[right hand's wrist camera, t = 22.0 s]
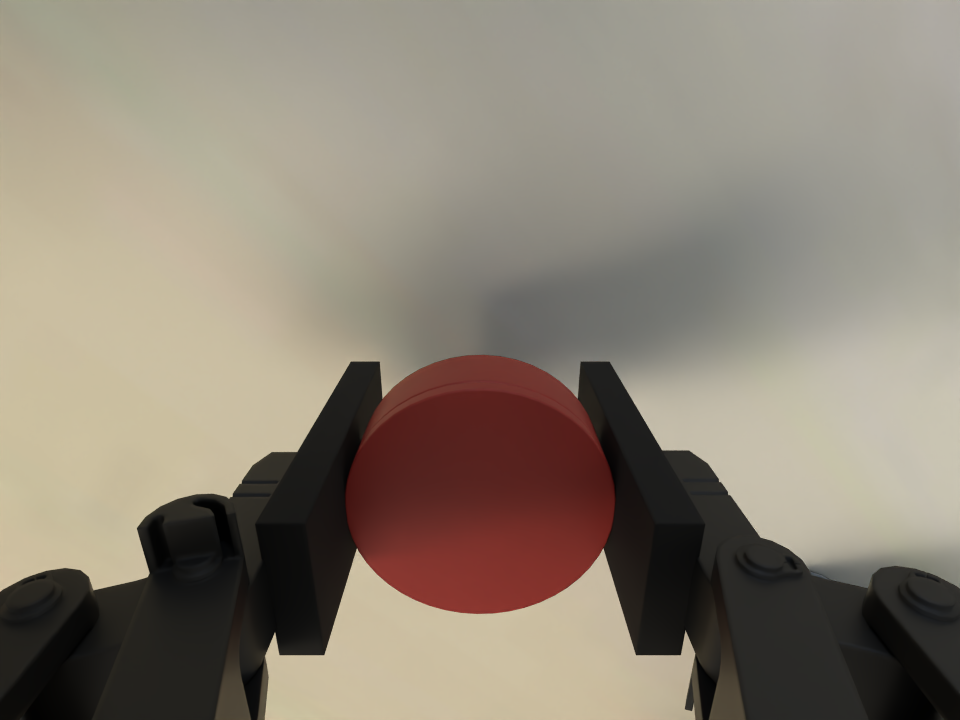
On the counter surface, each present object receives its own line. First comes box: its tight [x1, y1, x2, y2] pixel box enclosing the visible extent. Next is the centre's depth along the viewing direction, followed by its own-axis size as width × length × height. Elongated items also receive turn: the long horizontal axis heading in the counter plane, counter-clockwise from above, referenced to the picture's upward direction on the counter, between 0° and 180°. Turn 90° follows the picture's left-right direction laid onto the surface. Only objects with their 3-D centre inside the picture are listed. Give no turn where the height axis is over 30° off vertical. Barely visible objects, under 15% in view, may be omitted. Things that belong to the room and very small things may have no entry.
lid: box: [345, 355, 616, 614], centre depth 11 cm, size 5×5×2 cm
